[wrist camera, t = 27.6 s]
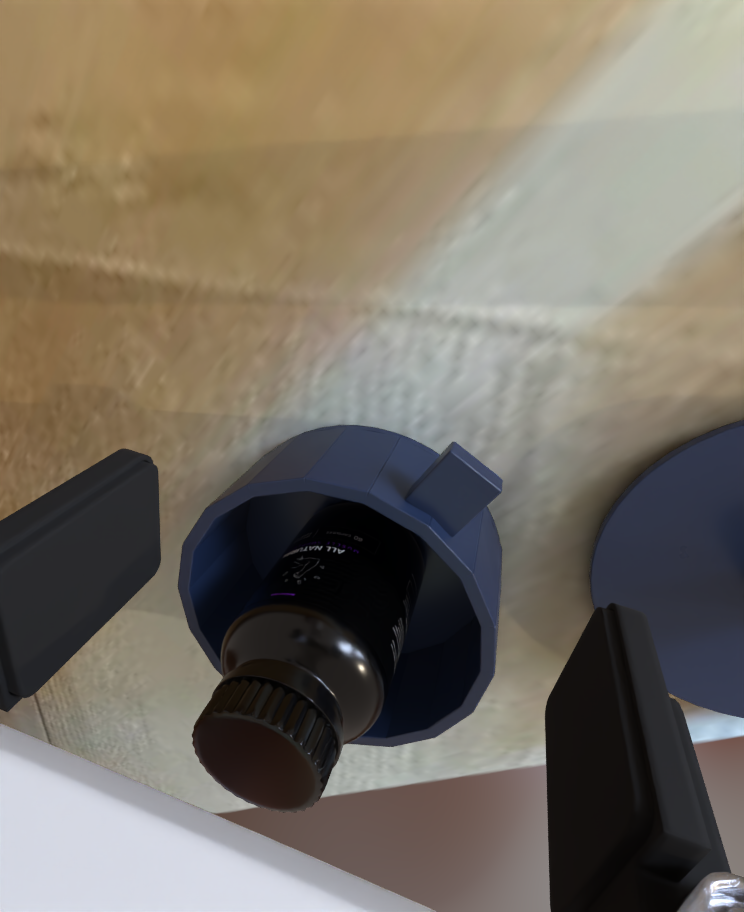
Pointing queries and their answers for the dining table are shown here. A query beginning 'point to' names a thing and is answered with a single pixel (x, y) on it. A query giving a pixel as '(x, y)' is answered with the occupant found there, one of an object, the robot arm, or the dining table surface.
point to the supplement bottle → (310, 657)
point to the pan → (398, 498)
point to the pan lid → (684, 565)
